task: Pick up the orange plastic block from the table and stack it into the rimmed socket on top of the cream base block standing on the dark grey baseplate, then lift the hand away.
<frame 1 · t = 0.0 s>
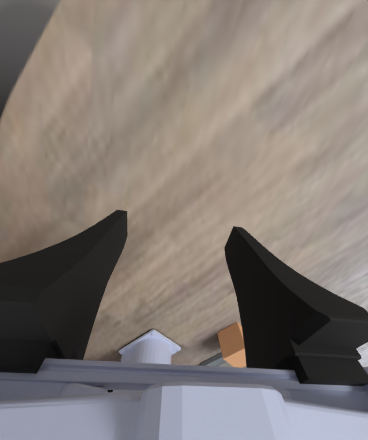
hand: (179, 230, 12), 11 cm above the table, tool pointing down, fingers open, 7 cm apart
baseplate: (238, 358, 37), on the table
orange block: (233, 332, 33), on the table
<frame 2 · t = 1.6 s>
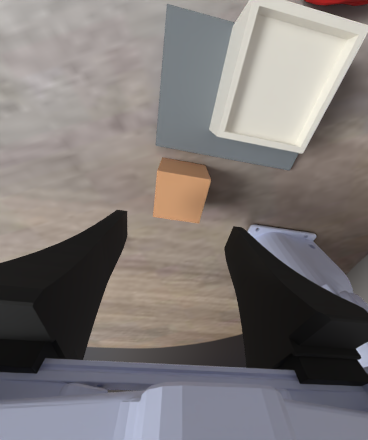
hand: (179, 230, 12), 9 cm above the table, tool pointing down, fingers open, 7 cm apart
cream base block: (257, 93, 14), point 1 cm above the table, touching baseplate
baseplate: (239, 105, 15), on the table
orange block: (180, 181, 19), on the table
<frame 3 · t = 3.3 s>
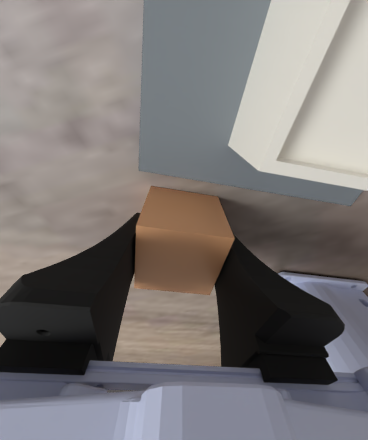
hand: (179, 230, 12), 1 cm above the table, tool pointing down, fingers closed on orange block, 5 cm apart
cream base block: (319, 82, 8), point 1 cm above the table, touching baseplate
baseplate: (280, 104, 9), on the table
orange block: (179, 219, 13), on the table, touching gripper
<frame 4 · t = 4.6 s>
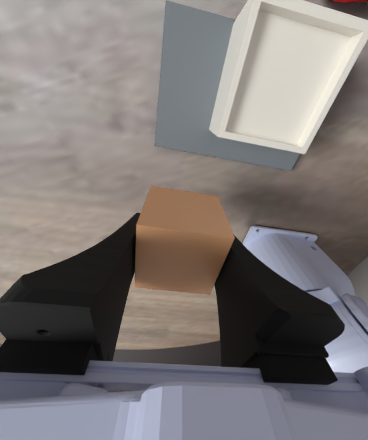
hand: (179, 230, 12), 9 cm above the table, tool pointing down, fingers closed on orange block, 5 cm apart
cream base block: (258, 92, 14), point 1 cm above the table, touching baseplate
baseplate: (239, 104, 15), on the table
orange block: (179, 218, 13), point 7 cm above the table, touching gripper
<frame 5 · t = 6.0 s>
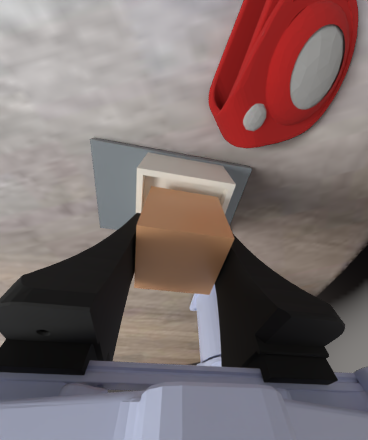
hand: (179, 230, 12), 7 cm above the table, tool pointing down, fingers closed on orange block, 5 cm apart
cream base block: (180, 193, 17), point 1 cm above the table, touching baseplate
tracker holder: (281, 49, 12), on the table
baseplate: (169, 197, 18), on the table
orange block: (179, 219, 13), point 5 cm above the table, touching gripper
when the fingers open (7 cm above the table, at t = 6.7 s): orange block stays where it is, resting on cream base block.
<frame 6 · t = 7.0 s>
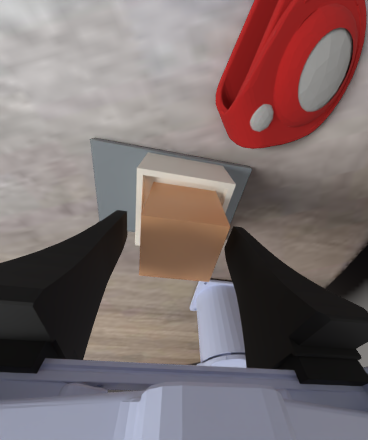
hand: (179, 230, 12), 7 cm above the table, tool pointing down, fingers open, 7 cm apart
cream base block: (180, 193, 17), point 1 cm above the table, touching baseplate, orange block
tracker holder: (289, 51, 12), on the table
baseplate: (169, 197, 18), on the table
orange block: (180, 213, 14), point 4 cm above the table, touching cream base block
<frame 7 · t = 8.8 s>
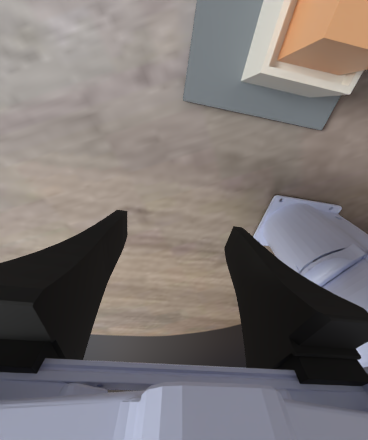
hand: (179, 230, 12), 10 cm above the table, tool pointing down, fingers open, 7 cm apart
cream base block: (295, 37, 13), point 1 cm above the table, touching baseplate, orange block
baseplate: (273, 54, 14), on the table
orange block: (329, 18, 10), point 4 cm above the table, touching cream base block
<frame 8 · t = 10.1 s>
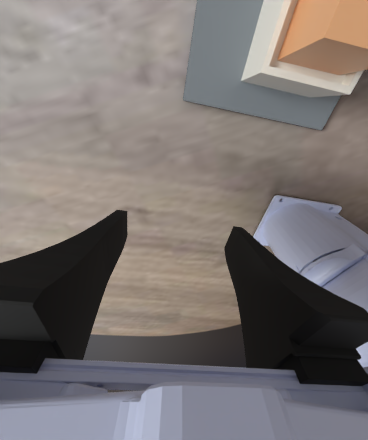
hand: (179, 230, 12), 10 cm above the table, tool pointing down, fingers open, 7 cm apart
cream base block: (296, 37, 13), point 1 cm above the table, touching baseplate, orange block
baseplate: (273, 54, 14), on the table
orange block: (329, 18, 10), point 4 cm above the table, touching cream base block
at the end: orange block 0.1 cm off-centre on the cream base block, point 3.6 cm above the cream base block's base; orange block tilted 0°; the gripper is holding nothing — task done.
